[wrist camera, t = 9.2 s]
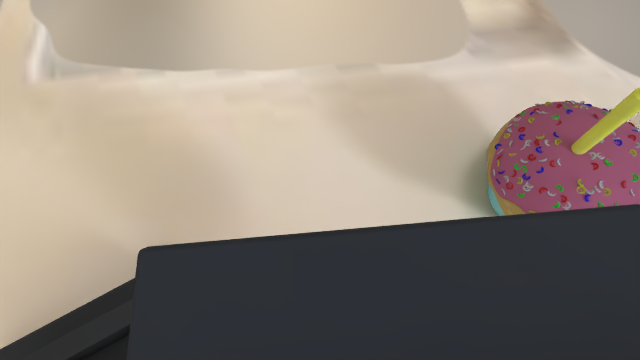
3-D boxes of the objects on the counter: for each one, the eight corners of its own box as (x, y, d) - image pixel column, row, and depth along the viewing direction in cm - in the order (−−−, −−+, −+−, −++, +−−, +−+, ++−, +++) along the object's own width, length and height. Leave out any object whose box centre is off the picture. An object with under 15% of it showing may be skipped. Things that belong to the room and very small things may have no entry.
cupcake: (451, 237, 21) (586, 177, 10) (468, 127, 24) (590, -22, 12) (590, 274, 20) (922, 253, 9) (592, 154, 23) (850, 17, 11)
